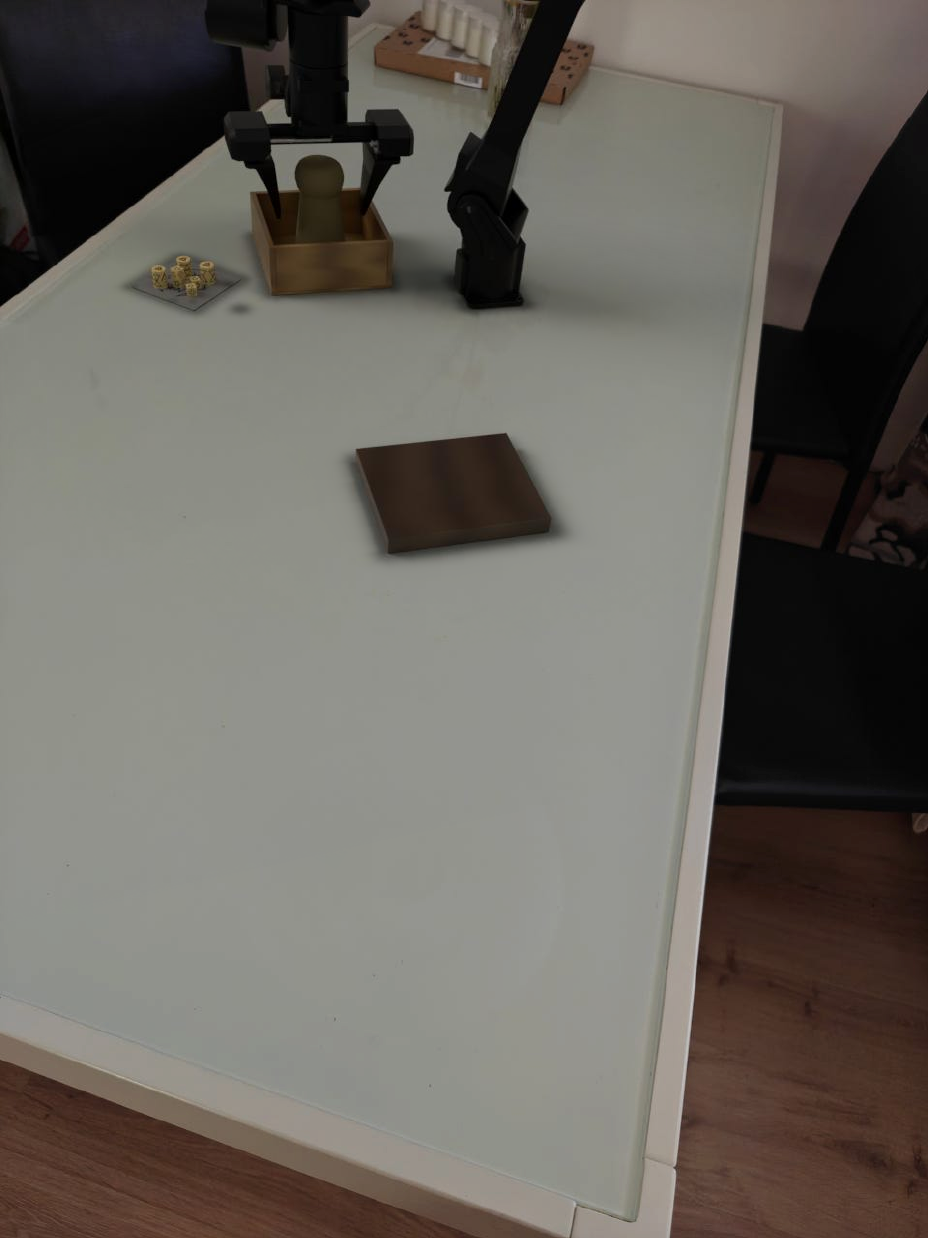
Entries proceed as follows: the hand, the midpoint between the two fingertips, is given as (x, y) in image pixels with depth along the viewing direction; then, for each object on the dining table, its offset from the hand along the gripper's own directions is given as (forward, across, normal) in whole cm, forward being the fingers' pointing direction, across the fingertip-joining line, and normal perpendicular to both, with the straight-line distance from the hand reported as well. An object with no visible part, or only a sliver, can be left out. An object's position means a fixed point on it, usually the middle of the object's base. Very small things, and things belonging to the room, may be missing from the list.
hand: (320, 215), depth 108 cm
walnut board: (+5, -3, +42) cm, 42 cm away
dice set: (+6, +15, +3) cm, 16 cm away
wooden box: (+5, 0, 0) cm, 5 cm away
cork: (+5, 0, 0) cm, 5 cm away
